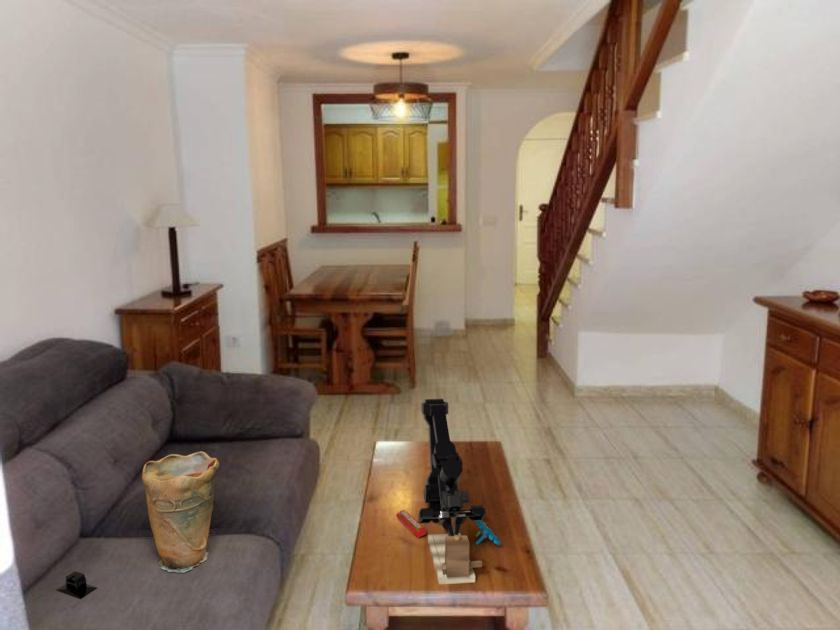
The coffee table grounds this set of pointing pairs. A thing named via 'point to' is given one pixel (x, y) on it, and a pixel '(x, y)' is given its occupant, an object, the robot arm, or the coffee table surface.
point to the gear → (486, 533)
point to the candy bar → (411, 524)
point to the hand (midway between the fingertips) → (454, 545)
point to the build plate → (76, 586)
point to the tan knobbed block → (458, 557)
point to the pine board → (438, 558)
